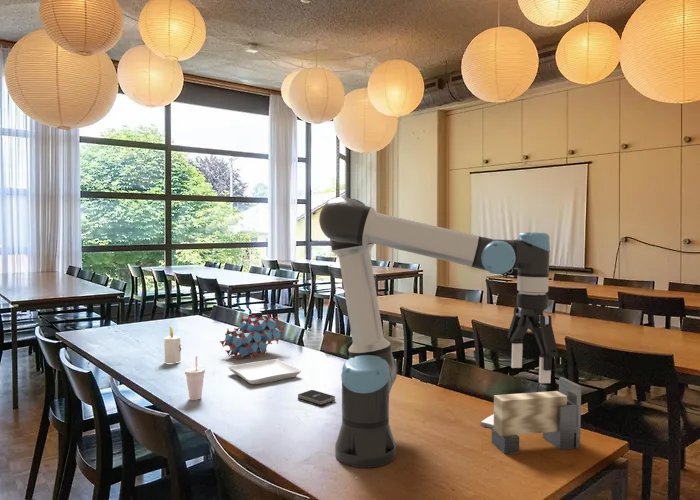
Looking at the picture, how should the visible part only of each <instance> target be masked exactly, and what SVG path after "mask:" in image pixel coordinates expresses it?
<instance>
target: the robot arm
mask: <svg viewBox="0 0 700 500" xmlns="http://www.w3.org/2000/svg"><path fill="white" fill-rule="evenodd" d="M318 218H319V219H318V221H319V222H318V223H319V227H320V230H321V231H322V233H323V234H324V236H326V237H327V238H328V239H329V240H330V247H331V251H332V252H333V254H335V256H337V257H338V260H339V268H340V273H341V279H342V285H343V291H344V296H345V303H346V308H347V316H348V320H349V322H348V323H349V328H350V332H351V338H352V340H351V341H352V344H351V345H350V346H349V348H348V354H349V355H348V356H349V358H348V359H347V360H345V362H344V363H343V365H342V368H341V369H342V370H341V374H340V376H341V418H342V419H341V425H340V428H339V432H338V436H337V438H336V441H335V447H334V455H335V458H336V459H337V460H338V461H339V462H341V463H342V464H345V465H347V466H351V467H355V468H378V467H382V466H386V465H388V464H390V463H392V462H393V461H394V460H395V459H396V456H397V445H396V441H395V440H394V439H395V438H394V435H393V433H392V429H391V426H390V393H391V390H392V387H393V385H394V383H395V381H396V378H397V373H398V366H397V362H396V360H395V357H394V356H393V352H392V346H391V342H390V341H389V340H388V339H386V338H385V336H384V333H383V332H384V331H383V326H382V325H383V324H382V320H381V319H382V318H381V312H380V306H379V300H378V295H377V289H376V282H375V276H374V271H373V264H372V259H371V253H370V252H371V250H372V248H373V247H374V245H378V246H383V247H386V248H389V249H390V248H391V249H395V250H400V251H402V252H407V253H411V254H415V255H416V254H417V255H420V256H424V257H428V258H431V259H437V260H442V261H446V262H450V263H454V264H459V265H463V266H467V267H471V268H475V269H478V270H483V271H487V272H489V273H490V274H494V275H503V274H505V273H508V272H509V271H510V270H517V278H516V280H517V282H516V284H517V285H516V290H517V291H518V293H517V294H516V307H514V308H513V316H512V319H511V321H510V322H511V323H510V326H509V328H508V332H507V339H508V340H510V343H511V361H510V362H511V364H510V365H511V366H510V367H511V368H512V369H515V368H516V369H521V368H523V345H524V344H523V338H524V337H525V335H526V333H527V332H528V330H530V332H531V333H532V334H534V337H535V340H536V342H537V343H536V344H537V345H538V348H539V351H540V355H539V361H538V362H539V365H538V367H539V368H538V369H539V371H538V383H539V384H551V376H552V360H553V357H558V356H559V351H558V348H557V342H556V338H555V334H554V330H553V325H552V324H553V322H552V316H551V315H544V310H547V309H548V307H549V295H548V294H547V293H548V292H549V282H550V281H549V277H550V275H549V273H550V257H551V256H550V254H551V246H550V244H551V243H550V235H549V234H548V233H546V232H526V231H525V232H523V231H522V232H520V233H519V234H518V238H517V239H493V238H489V237H485V236H480V235H476V234H473V233H472V234H471V233H466V232H462V231H459V230H454V229H450V228H446V227H441V226H436V225H432V224H428V223H423V222H419V221H415V220H410V219H406V218H401V217H398V216H394V215H393V216H392V215H388V214H384V213H381V212H377V211H376V209H375V208H374V207H371V206H367V205H366V204H365V203H364V202H362V201H361V200H358V199H355V198H349V197H346V196H340V197H335V198H332V199H330V200H328V201H327V202H326V203H325V204H324V205H323V206H322V208H321V211H320V213H319V217H318Z"/></svg>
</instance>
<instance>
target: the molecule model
mask: <svg viewBox="0 0 700 500" xmlns="http://www.w3.org/2000/svg"><path fill="white" fill-rule="evenodd" d="M278 322H279V323H281V320H280V319H279V317H278V316H274V317H271V316H270V314H267V315H262V316H259V317H256V315H254V314H253V315H251V316H249V315H248V316H247V318H244V317H243V315H241V319H240V320H239V327H238V328H236V327H235V328H233V331H231V330H229V328H227V331H226V333H225V334H224V335H225V338H224V340H222V341H221V340H219V343H221V347H223V348H224V347H226V346H228V347H229V349H228V350H225V352H226V354H227V356H228V355H229V357H231V356H233V355H234V356H235V358H236V357H237V358H236V360H238V359H239V358H243V357H246V356H248V355H249V356H250V358H251V357H252V358H251V359H254V358H259V355H260V354H262V355H263V357H264V356H265V355H266V352H267V351H268V350H267V348H268V345H272V344H273V341H275V342H276V344H277V345H278V344H279V341H280V339H281V333H282V332H286V330H285V329H284V326H283V325H279V326H276V323H278Z"/></svg>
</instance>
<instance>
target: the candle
mask: <svg viewBox="0 0 700 500" xmlns="http://www.w3.org/2000/svg"><path fill="white" fill-rule="evenodd" d="M163 340H164V346H163V347H164V363H165V362H166V363H176V362H179V361H181V355H182V354H181V352H182V347H181V346H182V344H181V336H179V335H174V330H173V328H172V326H169V335H168V336H165V337H164V339H163Z"/></svg>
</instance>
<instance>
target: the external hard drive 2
mask: <svg viewBox="0 0 700 500" xmlns="http://www.w3.org/2000/svg"><path fill="white" fill-rule="evenodd" d="M479 423H480V426H482V427H486V428H489V429H492V427H494V413H493V414H491V415H489V416H487V417H486V418H484V419H483V420H482V421H480V422H479Z"/></svg>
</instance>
